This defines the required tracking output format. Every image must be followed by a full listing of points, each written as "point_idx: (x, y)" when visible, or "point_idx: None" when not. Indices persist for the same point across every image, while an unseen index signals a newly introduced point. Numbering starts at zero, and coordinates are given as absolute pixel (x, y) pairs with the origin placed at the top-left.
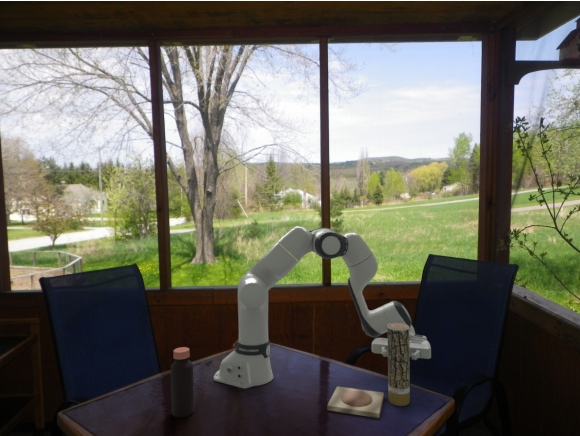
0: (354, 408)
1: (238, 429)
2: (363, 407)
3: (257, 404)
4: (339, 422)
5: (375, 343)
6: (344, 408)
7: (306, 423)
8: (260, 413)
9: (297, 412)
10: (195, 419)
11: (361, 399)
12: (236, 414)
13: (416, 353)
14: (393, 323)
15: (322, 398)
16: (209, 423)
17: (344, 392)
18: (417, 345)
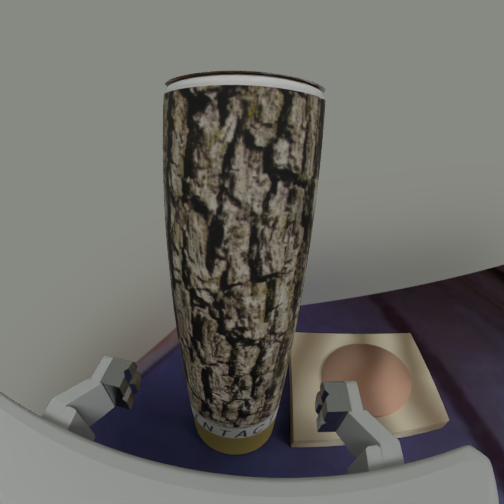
0: (352, 337)
1: (457, 278)
2: (334, 346)
3: (496, 320)
4: (361, 314)
5: (462, 451)
6: (373, 335)
7: (407, 302)
8: (473, 305)
9: (441, 321)
10: (499, 281)
11: (353, 372)
12: (487, 297)
13: (92, 376)
14: (288, 78)
15: (444, 377)
16: (485, 280)
17: (414, 397)
18: (22, 465)
